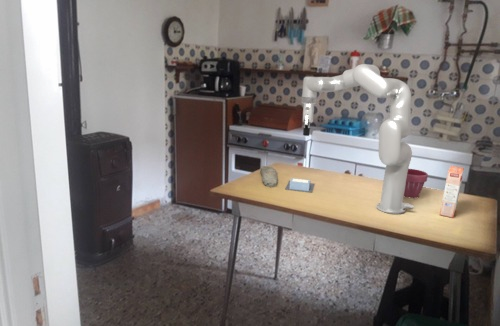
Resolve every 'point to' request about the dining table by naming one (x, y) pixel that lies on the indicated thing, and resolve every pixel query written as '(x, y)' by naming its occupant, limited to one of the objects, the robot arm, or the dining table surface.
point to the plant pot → (414, 183)
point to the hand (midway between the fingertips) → (306, 135)
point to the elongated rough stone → (269, 176)
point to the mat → (301, 190)
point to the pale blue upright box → (299, 184)
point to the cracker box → (451, 191)
